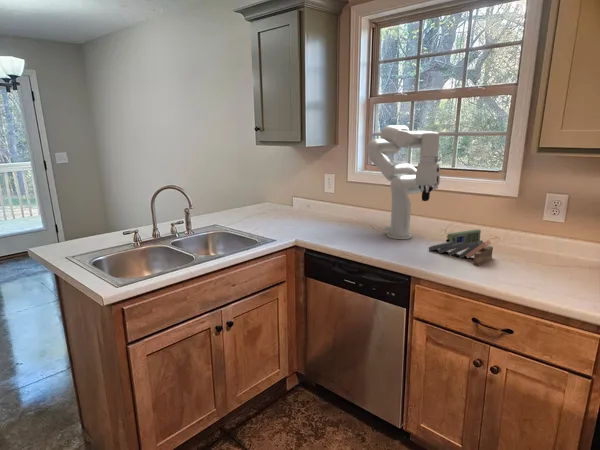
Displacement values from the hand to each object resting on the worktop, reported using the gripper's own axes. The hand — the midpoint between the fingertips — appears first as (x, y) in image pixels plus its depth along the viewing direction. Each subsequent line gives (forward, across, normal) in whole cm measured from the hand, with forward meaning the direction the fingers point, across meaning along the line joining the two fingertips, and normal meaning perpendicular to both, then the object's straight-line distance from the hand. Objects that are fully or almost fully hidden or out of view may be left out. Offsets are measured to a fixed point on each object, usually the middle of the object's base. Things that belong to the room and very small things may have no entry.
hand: (425, 200), depth 179 cm
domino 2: (+21, -11, +1) cm, 24 cm away
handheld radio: (+23, -11, -15) cm, 29 cm away
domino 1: (+21, -6, +1) cm, 22 cm away
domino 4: (+21, -20, +1) cm, 29 cm away
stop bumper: (+22, -29, +1) cm, 36 cm away
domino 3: (+21, -15, +1) cm, 26 cm away
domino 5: (+21, -23, +1) cm, 31 cm away
